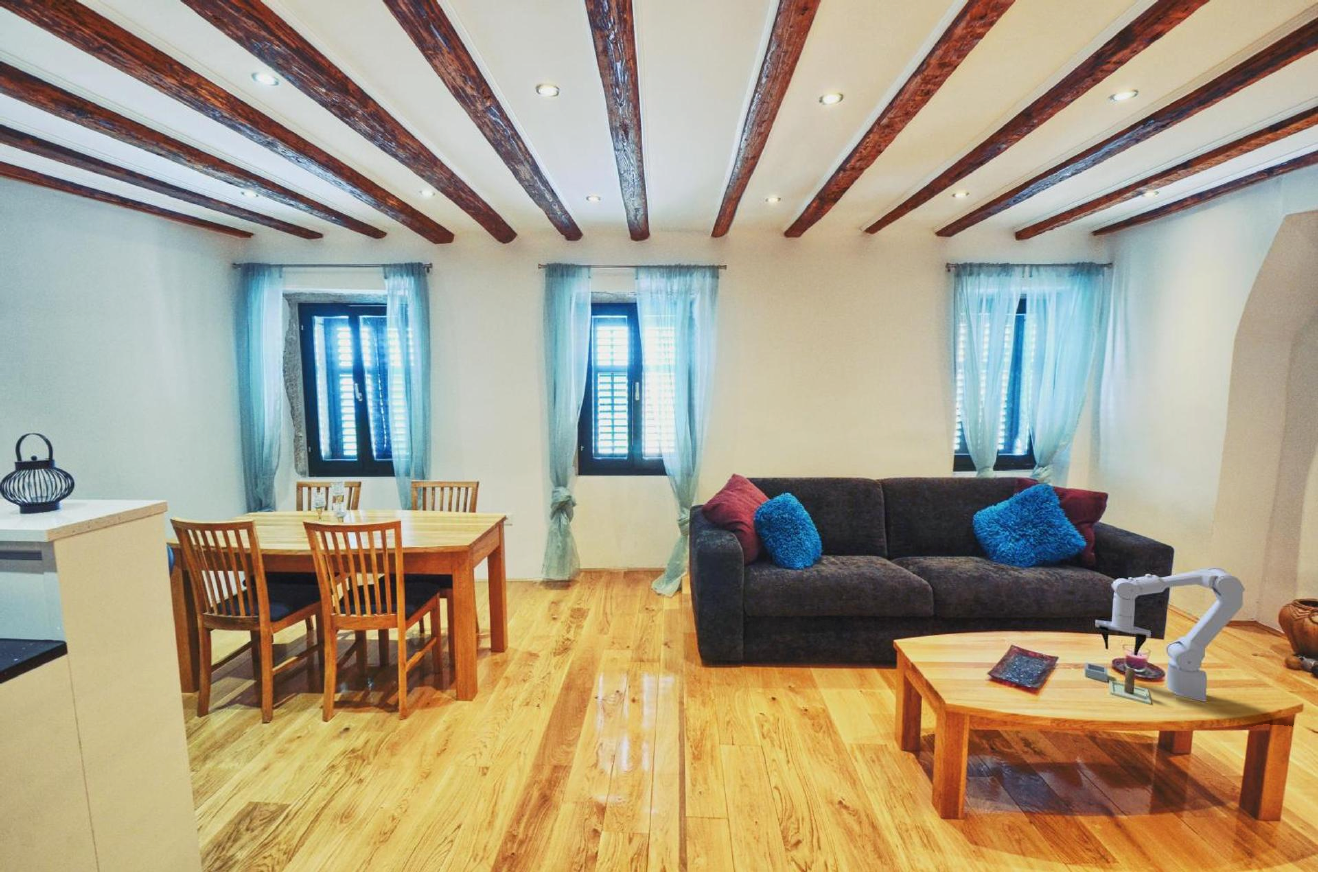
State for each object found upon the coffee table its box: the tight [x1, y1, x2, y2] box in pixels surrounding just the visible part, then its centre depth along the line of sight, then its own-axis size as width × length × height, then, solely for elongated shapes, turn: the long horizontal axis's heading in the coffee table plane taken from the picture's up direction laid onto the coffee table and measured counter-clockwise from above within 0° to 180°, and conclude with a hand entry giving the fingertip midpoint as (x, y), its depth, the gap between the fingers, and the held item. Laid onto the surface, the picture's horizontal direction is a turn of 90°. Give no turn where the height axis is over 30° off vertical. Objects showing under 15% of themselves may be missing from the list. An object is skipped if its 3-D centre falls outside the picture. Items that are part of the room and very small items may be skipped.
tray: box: [1108, 679, 1152, 705], centre depth 179 cm, size 10×10×1 cm
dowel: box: [1124, 667, 1136, 694], centre depth 178 cm, size 2×2×8 cm
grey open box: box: [1084, 662, 1109, 683], centre depth 189 cm, size 6×6×3 cm
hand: (1120, 651), depth 187 cm, fingers open, 7 cm apart
